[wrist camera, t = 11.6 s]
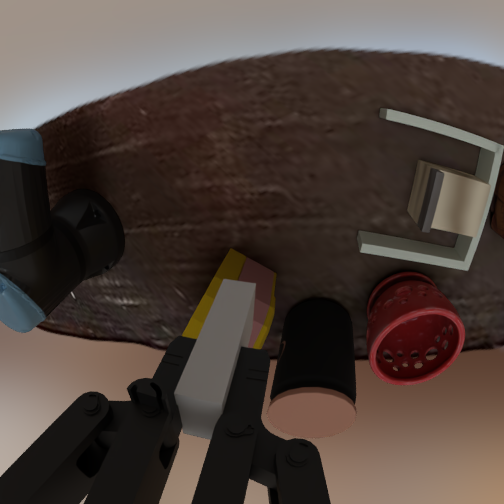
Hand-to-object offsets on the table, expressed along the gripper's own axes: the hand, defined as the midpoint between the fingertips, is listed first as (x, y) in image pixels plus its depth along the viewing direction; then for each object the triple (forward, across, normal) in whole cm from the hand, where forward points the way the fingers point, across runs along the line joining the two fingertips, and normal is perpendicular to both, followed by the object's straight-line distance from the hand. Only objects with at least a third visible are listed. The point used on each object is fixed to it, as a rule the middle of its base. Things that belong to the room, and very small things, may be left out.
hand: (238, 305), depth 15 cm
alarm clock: (+27, -5, -18) cm, 33 cm away
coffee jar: (+27, +8, -23) cm, 36 cm away
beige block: (+26, +22, +1) cm, 34 cm away
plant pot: (+26, +20, -16) cm, 37 cm away
